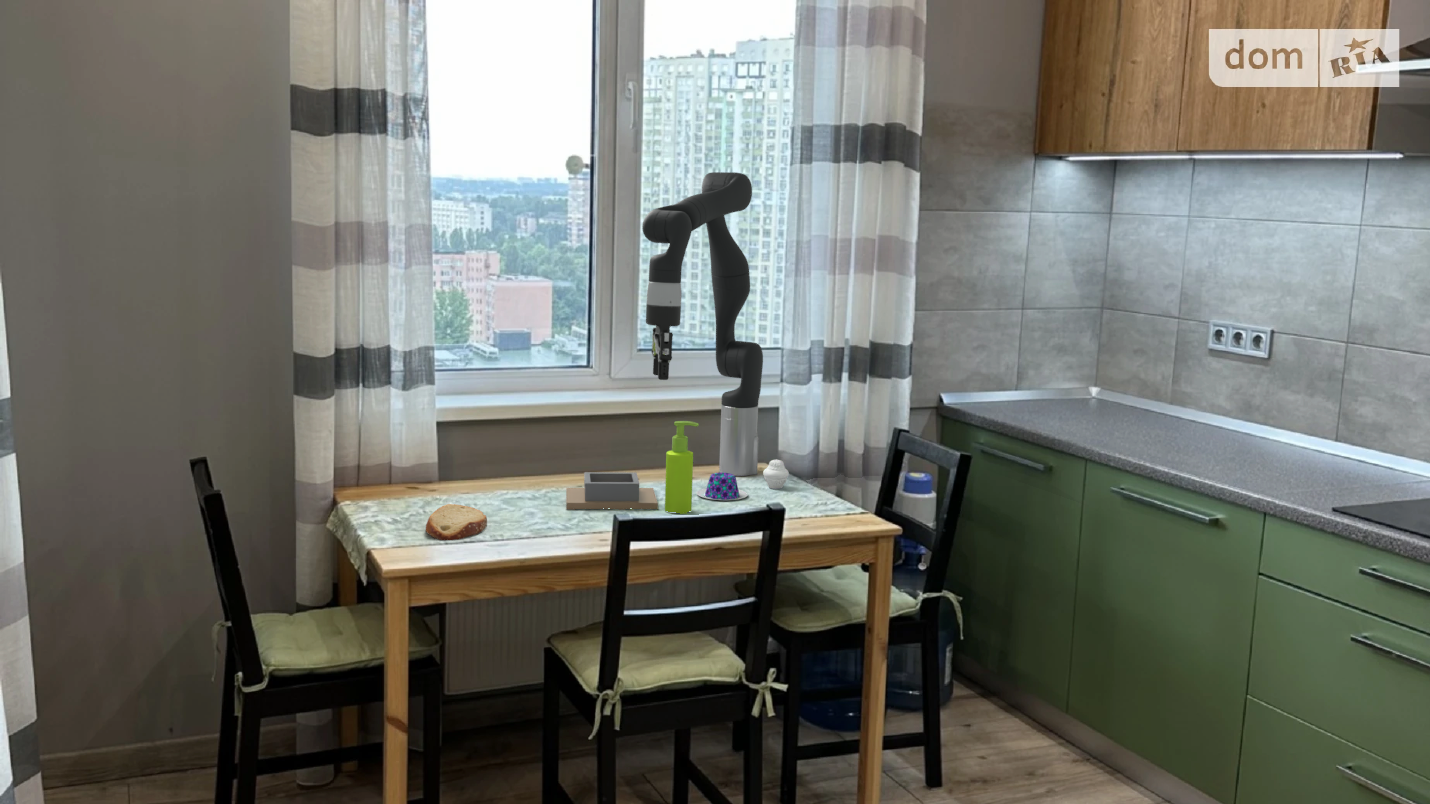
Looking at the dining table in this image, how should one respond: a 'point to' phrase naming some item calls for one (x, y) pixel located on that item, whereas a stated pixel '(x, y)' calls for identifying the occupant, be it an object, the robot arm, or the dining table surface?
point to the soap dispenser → (679, 472)
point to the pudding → (722, 487)
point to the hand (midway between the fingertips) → (660, 377)
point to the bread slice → (455, 522)
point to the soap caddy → (611, 492)
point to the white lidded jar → (776, 474)
